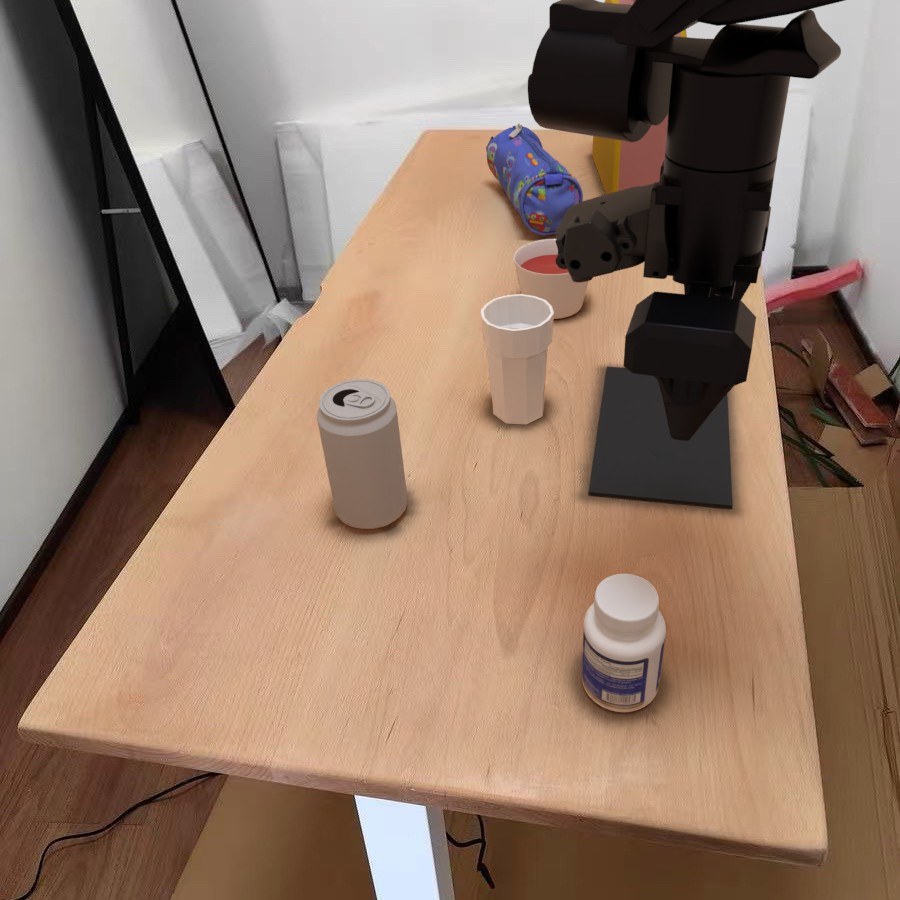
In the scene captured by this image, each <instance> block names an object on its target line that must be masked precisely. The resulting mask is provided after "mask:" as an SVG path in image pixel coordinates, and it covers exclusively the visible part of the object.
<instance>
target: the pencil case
mask: <svg viewBox="0 0 900 900" xmlns="http://www.w3.org/2000/svg"><path fill="white" fill-rule="evenodd" d="M485 151H486V162H487V166H488V169H489V170H490V172H491V174H492V175H493V176H494V178H495V179H496V180H497V181H498V182H499V183H500V185H501V187H502V189H503V191H504V192H505V194H506V196H507V198H508V200H509V202H510V203H511V204H512V206H513V208H514V210H515V211H516V212H517V214H518V215H519V217H521V220H522V222H523V224H524V226H525V227H526V228H527V229H528V231H530V232H531V233H533V234H535V235H538V236H542V237H547V236H553V235H556V234H555V231H556V229H557V228H558V226H559V224H560V222H561V220H562V219H563V217H564V215H565V213H566V212H567V210H568V209H569V208H571V207H572V206H574V205H575V204H577V203H580V202H582V201H584V193H583V189H582V187H581V184H580V182H579V181H578V179H577V178H576V177H575V176H574V175H573V174H571V172H570V171H568V169H566V167H565V166H564V165H562V163H561V162H559V161H558V160H557V159H556V158H554V157H553V156H552V155H551V154H550V153H549V152H548V151H547V150H545V149H544V146H543V144H542V141H541V140H540V138H539V136H538V135H537V134H536V133H535V132H534V131H533V130H531V129H530V128H528V127H526V126H524V125H522V124H521V123H519V122H518V123H517V124H516V125H513V126H511V127H508V128H505V129H504V130H502V131H501V132H499V133H497V134H496V135H495V136H491V137H490V138H489V141H488V143H487V145H486V146H485Z"/></svg>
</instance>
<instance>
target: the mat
mask: <svg viewBox="0 0 900 900" xmlns="http://www.w3.org/2000/svg"><path fill="white" fill-rule="evenodd" d="M728 401H729V400H728V393H727V394H726V396H725V397H724V398H723V399H722V400H721V401H720V403H719V404H718V405H717V406H716V408H715V409H714V410H713V411H712V412H711V414H710V415H709V416H708V417H707V419H706V420H705V421H704V423H703V424H702V425H701V426H700V428H699V429H698V430H697V431H696V433H695V434H694V435H693V437H692V438H691V439H690V440H689V441H683V440H676V439H673V438H671V436H670V431H669V426H668V422H667V417H666V413H665V408H664V403H663V399H662V395H661V391H660V387H659V383H658V381H657V379H656V378H655V377H653V376H649V375H642V374H634V373H631V372H630V371H629V370H628V369H626V368H625V367H622V366H621V367H619V366H606V369H605V375H604V382H603V390H602V397H601V402H600V403H601V405H600V411H599V416H598V417H599V418H598V425H597V431H596V439H595V445H594V452H593V460H592V467H591V473H590V480H589V485H588V493H587V494H588V496H594V497H604V498H614V499H625V500H636V501H646V502H655V503H657V502H658V503H665V504H678V505H687V506H699V507H706V508H707V507H709V508H720V509H728V510H729V509H730V510H731V509H733V505H734V502H733V483H732V482H733V481H732V465H731V464H732V461H731V444H730V443H731V442H730V439H731V438H730V420H729V419H730V418H729V402H728Z"/></svg>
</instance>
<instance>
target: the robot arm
mask: <svg viewBox="0 0 900 900" xmlns="http://www.w3.org/2000/svg"><path fill="white" fill-rule="evenodd" d="M845 1H846V0H636V1H635V2H634V4H633V5H629V4H615V3H604V2H603V1H598V0H558V1H555V2H553V3H552V4H551V5H550V6H549V14H548V15H549V22H548V25H549V26H548V28H547V29H546V32H545V33H544V34H543V36H542V38H541V39H540V42H539V45H538V47H537V50H536V53H535V56H534V60H533V63H532V71H531V73H530V74H529V75H528V78H527V99H528V105H529V110H530V113H531V116H532V117H533V120H534V122H536V124H537V125H538V126H539V127H541V128H543V129H547V130H554V131H559V132H566V133H572V134H577V135H578V134H579V135H586V136H590V137H593V136H597V137H603V138H609V139H615V140H622V141H628V142H636V141H639V140H640V139H642V138H643V137H644V135H645V134H646V133H647V132H648V130H649V129H650V127H651V125H655V126H656V125H659V124H660V123H661V122H663V121H664V119H665V118H666V116H667V115H668V125H667V136H666V148H665V159H664V161H663V163H662V166H661V170H660V180H659V182H655V183H653V184H649V185H645V186H637V187H631V188H628V189H624V190H621V191H617V192H613V193H610V194H606V193H605V194H604V195H600V196H599V195H598V196H596V197H593V198H589V199H585V200H583V201H582V202H580V203H577V204H575V205H574V206H572V207H571V208H569V209H568V210H567V212H566V213H565V215H564V217H563V219H562V220H561V222H560V224H559V226H558V228H557V229H556V231H555V234H554V235H555V237H556V238H555V239H556V241H555V242H556V245H557V248H558V255H557V257H556V264H557V266H558V267H559V268H561V269H568V272H569V274H570V276H571V278H572V281H574V282H586V281H588V282H589V281H592V280H593V278H596V277H601V276H604V275H609V274H613V273H614V272H618V271H622V270H626V269H627V270H628V269H631V268H635V267H638V266H639V265H641V264H643V276H642V277H643V278H649V279H659V280H665V279H667V278H668V277H672V279H671V280H672V281H673V282H675V283H678V284H681V285H683V290H684V293H675V292H664V291H653V292H651V294H649V295H648V296H646V297H645V298H644V299H642V300H641V301H640V302H638V303H637V304H636V305H635V308H634V310H633V314H632V316H631V319H630V322H629V325H628V327H627V331H626V334H625V336H624V351H623V353H624V354H623V368H626V369H628V370H629V371H630V372H631V373H634V374H642V375H649V376H653V377H655V378H656V379H657V381H658V383H659V387H660V391H661V395H662V399H663V403H664V408H665V413H666V417H667V422H668V426H669V431H670V436H671V438H673V439H676V440H683V441H689V440H690V439H691V438H692V437H693V435H694V434H695V433H696V431H697V430H698V429H699V428H700V426H701V425H702V424H703V423H704V421H705V420H706V419H707V417H708V416H709V415H710V414H711V412H712V411H713V410H714V409H715V408H716V406H717V405H718V404H719V403H720V401H721V400H722V399H723V398H724V397H725V396H726V394H727V395H728V394H729V392H730V391H731V390H732V389H733V388H734V387H736V386H738V385H740V384H743V383H746V382H747V379H748V373H749V369H750V362H751V355H752V351H753V343H754V335H755V330H756V322H757V321H756V320H757V316H756V315H755V314H754V313H753V312H752V310H750V308H749V307H748V306H747V305H746V304H745V303H744V302H743V300H742V299H743V297H744V296H745V294H746V292H747V291H748V289H749V287H750V286H751V284H757V283H758V277H759V270H760V268H761V265H762V260H763V259H762V258H763V252H765V248H766V244H767V239H768V232H769V226H770V219H771V212H772V211H771V210H772V207H771V206H770V205H771V200H772V193H773V185H774V179H775V173H776V166H777V160H778V154H779V153H778V152H779V146H780V141H781V135H782V129H783V124H784V116H785V112H786V105H787V99H788V93H789V87H790V81H791V78H796V79H797V78H798V79H806V80H811V79H814V78H816V77H817V76H818V75H820V74H821V73H822V72H823V71H824V70H826V69H827V68H828V67H830V65H832V64H833V63H834V62H836V61H837V60H838V59H839V58H840V56H841V54H842V50H841V46H840V45H839V44H838V43H837V42H836V41H835V40H834V39H833V38H832V37H831V35H829V33H827V32H826V30H824V29H823V28H822V26H821V25H820V23H819V21H818V19H817V16H816V13H815V11H814V10H813V9H816V8H821V7H824V6H828V5H833V4H836V3H837V4H838V3H840V2H845ZM797 13H800V14H798V15H797V16H795V17H794V18H792V19H791V20H790V21H789V22H788V23H787V24H786V25H785V27H784V26H783V27H782V26H771V25H770V26H769V25H755V24H744V23H748V22H753V21H759V20H765V19H770V18H771V19H772V18H776V17H782V16H787V15H792V14H797ZM698 23H702V24H706V25H711V26H717V27H721V26H723V27H721V29H720V30H719V31H718V32H717V33H716V34H715V36H714V37H713V38H701V37H688V36H687V37H678V36H675V35H676V34H678V33H680V32H682V31H684V30H685V29H686V30H687V29H689V28H691V27H693V26H694V25H696V24H698Z"/></svg>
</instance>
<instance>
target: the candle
mask: <svg viewBox="0 0 900 900" xmlns="http://www.w3.org/2000/svg"><path fill="white" fill-rule="evenodd" d="M556 239H557V238H545V239H539V240H534V241H531V242H528V243H525V244H524V245H522V246H520V247H519V248H518V249H517V250H516V251H515V252H514V254H513V262H514V263H513V264H514V267H515V273H516V277H517V281H518V287H519V290H520V294H524V295H531V296H536V297H539V298H541V299H544V300H546V301H547V302H548V303H549V304H550V305H551V306H552V309H553V312H554V319H553V320H559V319H564V318H568V317H571V316H574V315H575V314H577V313H579V311H581V309H582V307H583V304H584V302H585V297H586V293H587V290H588V285H589V281H586V282H574V281H572V278H571V276H570V274H569V272H568V269H561V268H559V267H558V266H557V264H556V257H557V255H558V248H557V245H556V242H555V241H556Z"/></svg>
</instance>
